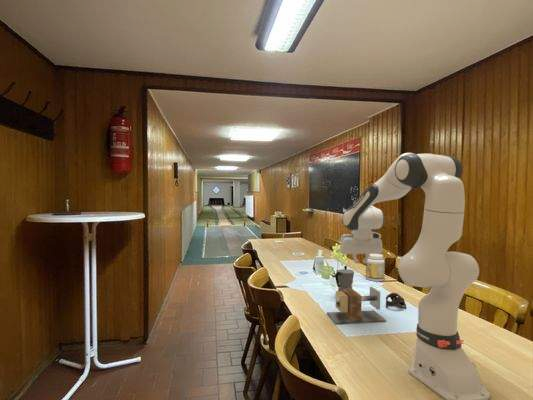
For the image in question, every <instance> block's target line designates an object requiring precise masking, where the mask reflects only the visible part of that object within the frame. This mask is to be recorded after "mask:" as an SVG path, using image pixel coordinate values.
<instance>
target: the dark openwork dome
mask: <svg viewBox="0 0 533 400" xmlns="http://www.w3.org/2000/svg"><path fill="white" fill-rule="evenodd" d="M389 298H390V300H388V299H389ZM385 306H386V308H388V307H397V306H398V307H400V306H403V307H404V308H405V309H407V304H406V301H405V299H404V298H403V297H402V296H401V295H400V294H399V293H397V292H391V293H389V294H387V295H386V296H385Z"/></svg>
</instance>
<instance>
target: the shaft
mask: <svg viewBox="0 0 533 400" xmlns="http://www.w3.org/2000/svg"><path fill="white" fill-rule="evenodd" d="M361 296H362V302H369V304H370V305H371V306H372V307H373V308H375V309H376V310H381V291H380V290H377V289H376V288H374V287H373V286H370V287H369V295H361ZM334 300H335V303H336V302H340V298H339V297H336V296H335V299H334Z"/></svg>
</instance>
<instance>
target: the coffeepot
mask: <svg viewBox="0 0 533 400" xmlns="http://www.w3.org/2000/svg"><path fill="white" fill-rule="evenodd" d="M343 267H344V268H342V269H338V270H337V271H336V273H335V275H334V278H335V282H336V285H337V287H338V289H337V291H342V292H343V289H353V286H352V285H353V281H354V275H355V271H354V269H348V266H347V265H344V266H343Z"/></svg>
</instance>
